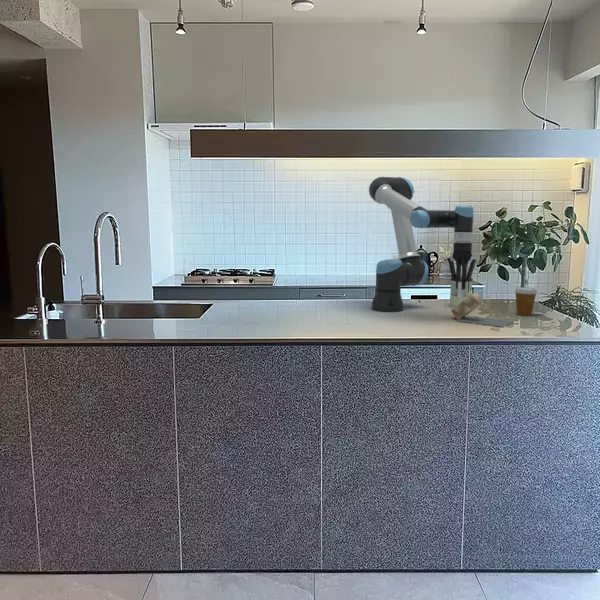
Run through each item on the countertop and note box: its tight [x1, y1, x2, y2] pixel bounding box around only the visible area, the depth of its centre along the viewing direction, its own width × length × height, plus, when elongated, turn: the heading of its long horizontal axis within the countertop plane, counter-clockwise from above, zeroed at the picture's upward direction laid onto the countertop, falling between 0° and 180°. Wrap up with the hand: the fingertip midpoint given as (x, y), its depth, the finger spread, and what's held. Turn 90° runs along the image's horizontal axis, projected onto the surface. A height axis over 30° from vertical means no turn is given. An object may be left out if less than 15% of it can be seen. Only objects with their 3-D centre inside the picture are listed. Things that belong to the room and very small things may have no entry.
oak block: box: [450, 292, 485, 320], centre depth 242 cm, size 5×6×12 cm
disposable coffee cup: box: [514, 286, 538, 317], centre depth 255 cm, size 10×10×12 cm
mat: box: [455, 315, 515, 328], centre depth 238 cm, size 20×14×1 cm
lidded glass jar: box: [449, 276, 473, 308], centre depth 275 cm, size 10×10×14 cm
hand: (460, 296), depth 243 cm, fingers closed
